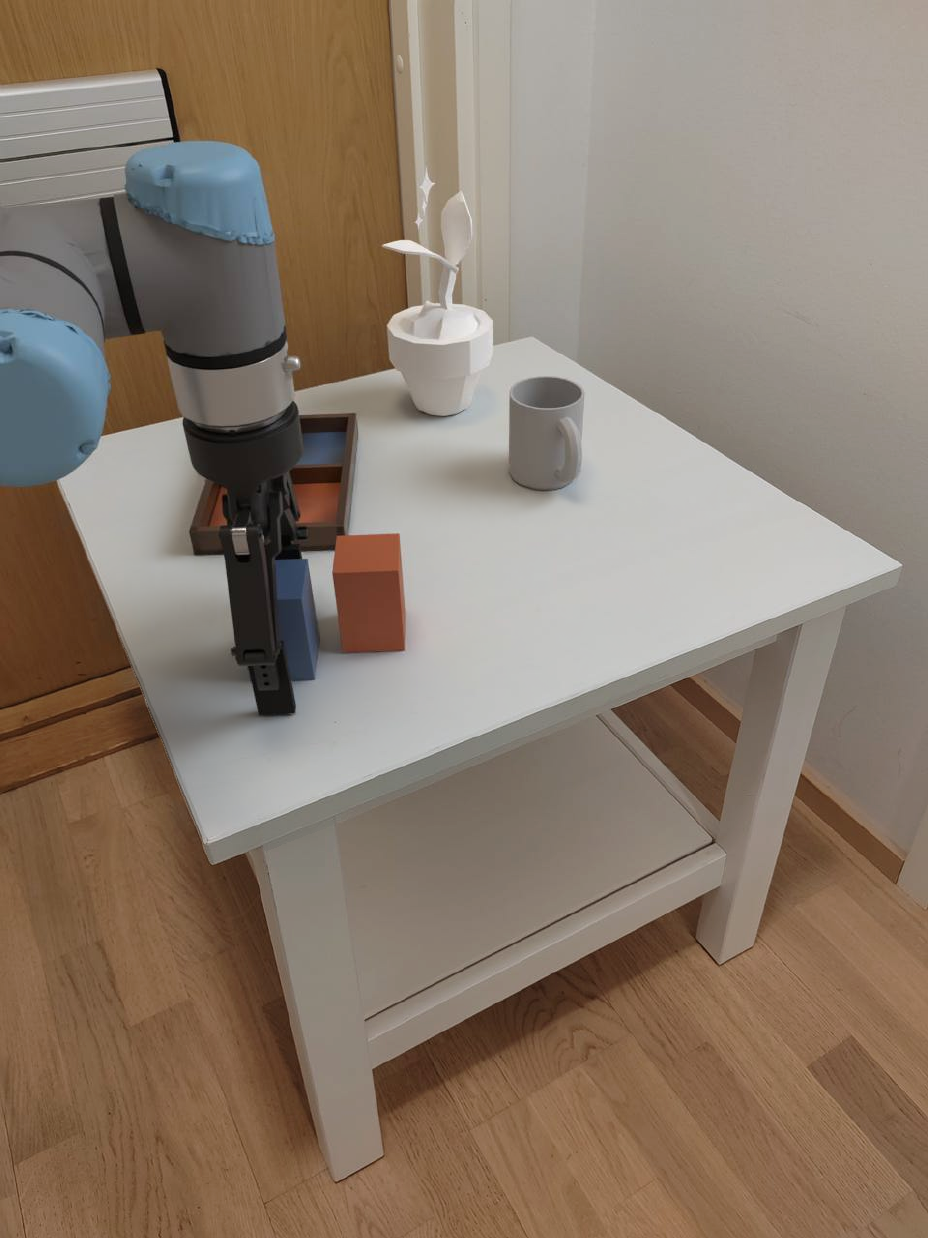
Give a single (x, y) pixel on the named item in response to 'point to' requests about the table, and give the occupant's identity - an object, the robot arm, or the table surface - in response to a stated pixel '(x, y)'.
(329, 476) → the tray
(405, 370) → the potted plant
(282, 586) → the blue bar
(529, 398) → the cup
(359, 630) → the terracotta bar
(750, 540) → the table surface
